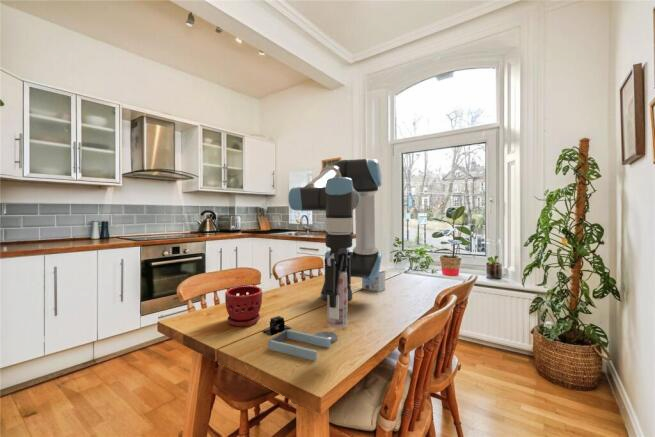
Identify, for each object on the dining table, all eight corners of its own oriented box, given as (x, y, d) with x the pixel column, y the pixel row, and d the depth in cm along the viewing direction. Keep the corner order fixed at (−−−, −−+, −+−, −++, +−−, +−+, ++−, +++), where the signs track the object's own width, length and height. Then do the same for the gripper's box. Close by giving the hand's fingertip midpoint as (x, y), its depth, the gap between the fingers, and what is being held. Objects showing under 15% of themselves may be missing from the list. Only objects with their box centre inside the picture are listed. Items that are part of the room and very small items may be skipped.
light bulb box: (361, 288, 159) (361, 268, 159) (368, 286, 164) (368, 266, 164) (379, 292, 152) (379, 271, 152) (385, 289, 157) (385, 269, 157)
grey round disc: (319, 331, 101) (319, 329, 101) (341, 336, 98) (341, 334, 98) (308, 340, 94) (308, 338, 94) (331, 345, 91) (331, 343, 91)
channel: (286, 336, 97) (286, 329, 97) (330, 346, 90) (330, 338, 90) (268, 348, 88) (268, 340, 88) (315, 361, 82) (315, 352, 81)
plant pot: (219, 321, 110) (219, 289, 110) (252, 313, 119) (252, 283, 118) (233, 332, 100) (233, 297, 100) (268, 323, 109) (268, 290, 108)
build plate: (268, 339, 96) (268, 325, 96) (255, 333, 101) (255, 319, 101) (297, 329, 105) (297, 316, 105) (284, 323, 110) (284, 311, 110)
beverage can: (335, 318, 88) (336, 269, 88) (351, 323, 85) (351, 271, 84) (322, 324, 84) (323, 272, 83) (338, 330, 80) (338, 275, 80)
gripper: (339, 229, 93) (339, 302, 94) (311, 235, 76) (311, 323, 77) (362, 230, 90) (361, 306, 91) (337, 236, 73) (337, 329, 74)
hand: (338, 314), depth 84 cm, fingers closed on beverage can, 6 cm apart
